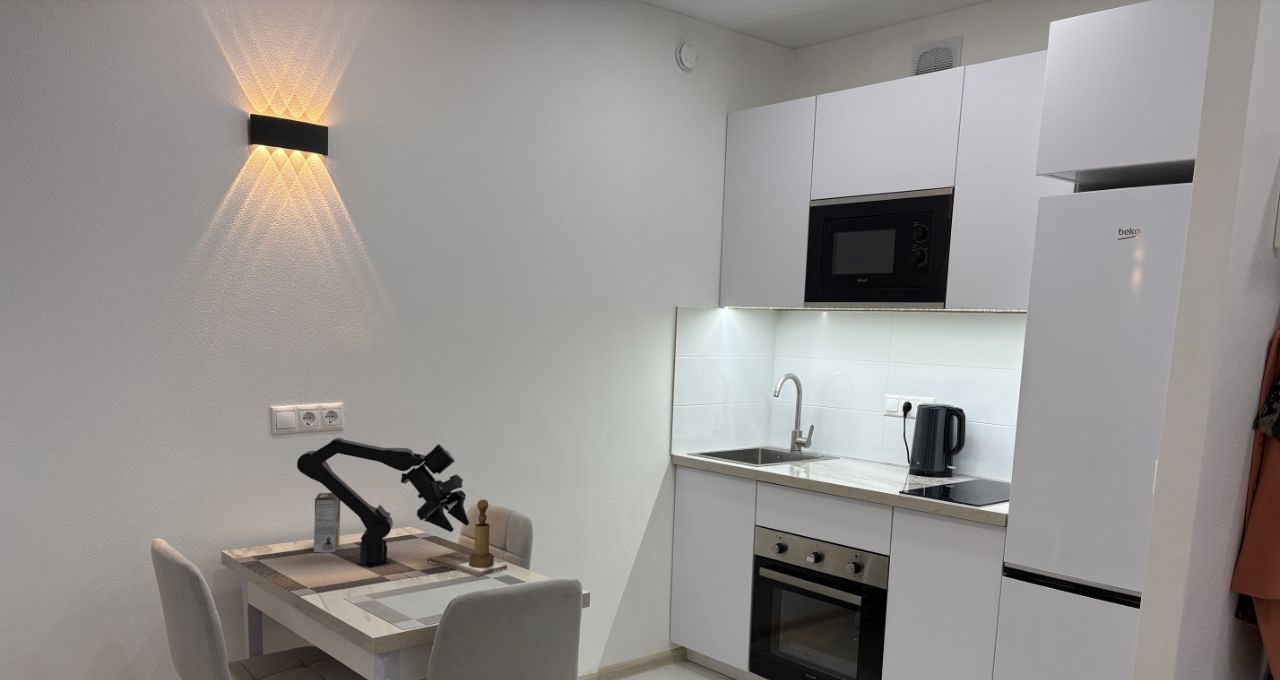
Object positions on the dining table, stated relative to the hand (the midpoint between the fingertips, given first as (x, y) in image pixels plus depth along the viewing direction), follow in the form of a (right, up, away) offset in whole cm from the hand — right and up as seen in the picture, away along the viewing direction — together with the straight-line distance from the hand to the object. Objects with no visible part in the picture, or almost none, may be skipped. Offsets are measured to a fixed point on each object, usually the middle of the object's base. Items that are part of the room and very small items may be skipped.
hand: (460, 527), depth 238 cm
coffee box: (-43, -10, +16) cm, 47 cm away
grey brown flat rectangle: (+1, -11, +2) cm, 11 cm away
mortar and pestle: (+6, -10, -2) cm, 12 cm away
